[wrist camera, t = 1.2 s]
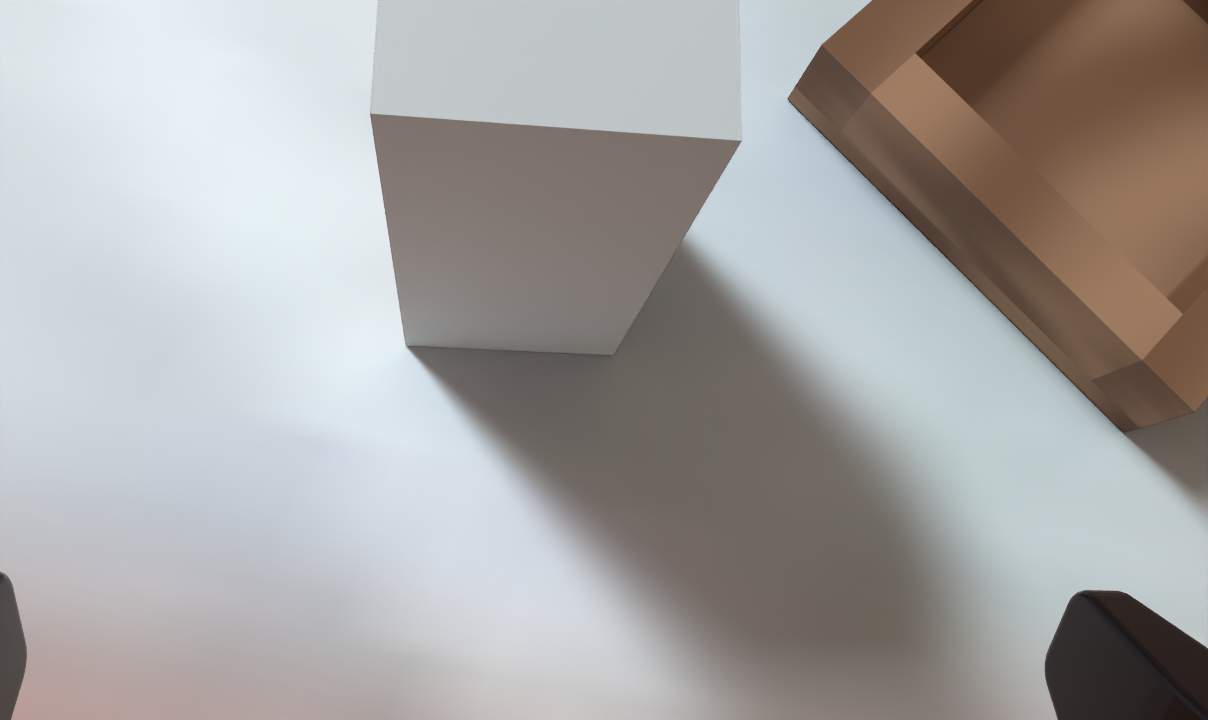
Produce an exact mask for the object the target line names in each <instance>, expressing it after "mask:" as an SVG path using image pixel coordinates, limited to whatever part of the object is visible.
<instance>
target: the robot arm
mask: <svg viewBox="0 0 1208 720" xmlns="http://www.w3.org/2000/svg"><path fill="white" fill-rule="evenodd" d="M26 659H27V649H26V642H25V638H24V633H23V629H22V624H21V620H20V616H19V611H18V607H17V603H16V598H15V594H14V589H13V586H12V583H11V581H10V579H9V578H8V576H7V575H6V574H4V573H2V572H0V720H11V718H12V714H13V711H14V708H15V704H16V701H17V697H18V694H19V691H20V687H21V684H22V681H23V677H24V673H25V668H26ZM1045 677H1046V682H1047V686H1048V689H1049V693H1050V696H1051V699H1052V702H1053V706H1054V709H1055V712H1056V715H1057V718H1058V720H1208V648H1207V647H1205V646H1204V645H1202V644H1201V643H1199V642H1198V641H1196V640H1195V639H1193V638H1192V637H1190V636H1189V635H1187V634H1186V633H1184V632H1183V631H1182V630H1180V629H1179V628H1177V627H1176V626H1174V625H1173V624H1171V623H1170V622H1168V621H1167V620H1165V619H1164V618H1162V617H1161V616H1159V615H1158V614H1156V613H1155V612H1154V611H1152V610H1151V609H1149V608H1148V607H1146V606H1145V605H1143V604H1142V603H1140V602H1139V601H1137V600H1136V599H1134V598H1133V597H1131V596H1130V595H1128V594H1126V593H1123V592H1120V591H1099V590H1084V591H1080V592H1078V593H1076V594H1075V595H1074V596H1073V597H1072V598H1071V599H1070V601H1069V603H1068V605H1067V608H1066V610H1065V612H1064V615H1063V617H1062V619H1061V621H1060V624H1059V626H1058V628H1057V631H1056V633H1055V635H1054V638H1053V640H1052V642H1051V645H1050V647H1049V649H1048V652H1047V655H1046V660H1045Z"/></svg>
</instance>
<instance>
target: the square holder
mask: <svg viewBox="0 0 1208 720" xmlns="http://www.w3.org/2000/svg"><path fill="white" fill-rule="evenodd" d="M788 100H789V101H790V102H791V103H792V104H793V105H794V106H795V107H796V108H797V109H798V110H799V111H800V112H801V113H802V114H803V115H804V116H805V117H806V118H807V119H808V120H809V121H810V122H811V123H812V124H813V125H814V126H815V127H816V128H817V129H818V130H819V131H820V132H821V133H822V134H823V135H824V136H825V137H826V138H827V139H828V140H829V141H830V142H832V143H833V144H834V145H835V146H836V147H837V148H838V149H839V150H840V151H841V152H842V153H843V154H844V155H845V156H846V157H847V158H848V159H849V160H850V161H851V162H852V163H853V164H854V165H855V166H856V167H857V168H858V169H859V170H860V171H861V172H862V173H863V174H864V175H865V176H866V177H867V178H868V179H869V180H870V181H871V182H872V183H873V184H874V185H875V186H876V187H877V188H878V189H879V190H880V191H881V192H882V193H883V194H884V195H885V196H886V197H887V198H888V199H889V200H890V201H891V202H892V203H893V204H894V205H895V206H896V207H897V208H898V209H899V210H900V211H901V212H902V213H903V214H904V215H905V216H906V217H907V218H908V219H909V220H910V221H911V222H912V223H913V224H914V225H915V226H916V227H917V228H918V229H919V230H920V231H921V232H922V233H923V234H924V235H925V236H926V237H927V238H928V239H929V240H930V241H931V242H932V243H933V244H934V245H935V246H936V247H937V248H938V249H939V250H940V251H941V252H942V253H943V254H944V255H945V256H946V257H947V258H948V259H949V260H950V261H951V262H952V263H953V264H954V265H955V266H956V267H957V268H958V269H959V270H960V271H961V272H962V273H963V274H964V275H965V276H966V277H967V278H968V279H969V280H970V281H971V282H973V283H974V284H975V285H976V286H977V287H978V288H979V289H980V290H981V291H982V292H983V293H984V294H985V295H986V296H987V297H988V298H989V299H990V300H991V301H992V302H993V303H994V304H995V305H996V306H997V307H998V308H999V309H1000V310H1001V311H1002V312H1003V313H1004V314H1005V315H1006V316H1007V317H1008V318H1009V319H1010V320H1011V321H1012V322H1013V323H1014V324H1015V325H1016V326H1017V327H1018V328H1019V329H1020V330H1021V331H1022V332H1023V333H1024V334H1025V335H1026V336H1027V337H1028V338H1029V339H1030V340H1031V341H1032V342H1033V343H1034V344H1035V345H1036V346H1037V347H1038V348H1039V349H1040V350H1041V351H1042V352H1043V353H1044V354H1045V355H1046V356H1047V357H1048V358H1049V359H1050V360H1051V361H1052V362H1053V363H1054V364H1055V365H1056V366H1057V367H1058V368H1059V369H1060V370H1061V371H1062V372H1063V373H1064V374H1065V375H1066V376H1067V377H1068V378H1069V379H1070V380H1071V381H1072V382H1073V383H1074V384H1075V385H1076V386H1077V387H1078V388H1079V389H1080V390H1081V391H1082V392H1083V393H1084V394H1085V395H1086V396H1087V397H1088V398H1089V399H1090V400H1091V401H1092V402H1093V403H1094V404H1095V405H1096V406H1097V407H1098V408H1099V409H1100V410H1101V411H1102V412H1103V413H1104V414H1105V415H1106V416H1107V417H1108V418H1109V419H1110V420H1111V421H1113V422H1114V423H1115V424H1116V425H1117V426H1118V427H1119V428H1120V429H1121V430H1122V431H1123V432H1128V431H1131V430H1135V429H1138V428H1142V427H1145V426H1148V425H1152V424H1155V423H1159V422H1162V421H1166V420H1169V419H1172V418H1176V417H1179V416H1183V415H1186V414H1189V413H1193V412H1195V411H1196V410H1197V409H1198V407H1199V406H1200V405H1201V404H1202V403H1203V402H1204V400H1205V399H1206V398H1207V397H1208V0H872V1H871V2H870V3H869V4H868V5H866V6H865V7H864V8H863V9H862V10H861V11H860V12H859V13H857V14H856V15H855V16H854V17H853V18H852V19H851V20H849V21H848V22H847V23H846V24H845V25H844V26H843V27H841V28H840V29H839V30H838V31H837V32H836V33H835V34H834V35H832V36H831V37H830V38H829V39H828V40H827V41H826V42H824V43H823V44H822V45H821V47H820V48H819V50H818V51H817V53H816V55H815V56H814V58H813V59H812V61H811V62H810V64H809V66H808V67H807V69H806V70H805V72H804V73H803V75H802V77H801V78H800V80H799V81H798V83H797V85H796V86H795V88H794V89H793V91H792V92H791V94H790V96H789V97H788Z"/></svg>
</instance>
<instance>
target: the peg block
mask: <svg viewBox="0 0 1208 720" xmlns="http://www.w3.org/2000/svg"><path fill="white" fill-rule="evenodd" d="M370 116H371V123H372V129H373V136H374V142H375V149H376V155H377V162H378V168H379V175H380V182H381V188H382V195H383V201H384V208H385V214H386V221H387V227H388V234H389V240H390V247H391V253H392V260H393V266H394V273H395V279H396V286H397V293H398V299H399V306H400V312H401V319H402V325H403V332H404V338H405V345H406V346H424V347H446V348H467V349H489V350H510V351H532V352H553V353H575V354H596V355H614V353H615V352H616V350H617V348H618V347H619V345H620V343H621V342H622V340H623V338H624V337H625V335H626V333H627V332H628V330H629V328H630V327H631V325H632V323H633V322H634V320H635V318H636V317H637V315H638V313H639V312H640V310H641V308H642V307H643V305H644V303H645V302H646V300H647V298H648V296H649V295H650V293H651V291H652V290H653V288H654V286H655V285H656V283H657V281H658V280H659V278H660V276H661V275H662V273H663V271H664V270H665V268H666V266H667V265H668V263H669V261H670V260H671V258H672V256H673V255H674V253H675V251H676V250H677V248H678V246H679V245H680V243H681V241H682V240H683V238H684V236H685V235H686V233H687V231H688V230H689V228H690V226H691V225H692V223H693V221H694V220H695V218H696V216H697V215H698V213H699V211H700V210H701V208H702V206H703V205H704V203H705V201H706V200H707V198H708V196H709V195H710V193H711V191H712V190H713V188H714V186H715V185H716V183H717V181H718V180H719V178H720V176H721V175H722V173H723V171H724V170H725V168H726V166H727V165H728V163H729V161H730V159H731V158H732V156H733V154H734V153H735V151H736V149H737V148H738V146H739V144H740V143H741V141H742V127H741V72H740V17H739V0H378V9H377V23H376V37H375V51H374V65H373V79H372V94H371V108H370Z"/></svg>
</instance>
